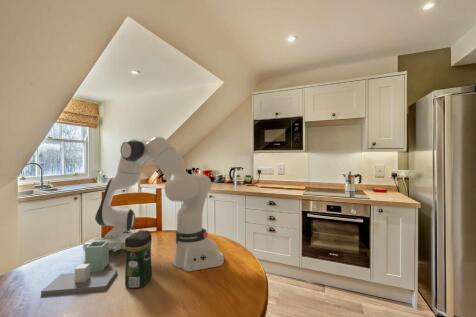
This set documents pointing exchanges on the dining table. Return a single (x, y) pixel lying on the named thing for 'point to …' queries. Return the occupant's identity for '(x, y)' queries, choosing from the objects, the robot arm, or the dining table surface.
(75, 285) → the stub board
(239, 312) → the dining table surface
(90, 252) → the mint green pencil cup
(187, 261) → the robot arm
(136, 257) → the coffee jar
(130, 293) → the dining table surface
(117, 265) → the dining table surface
